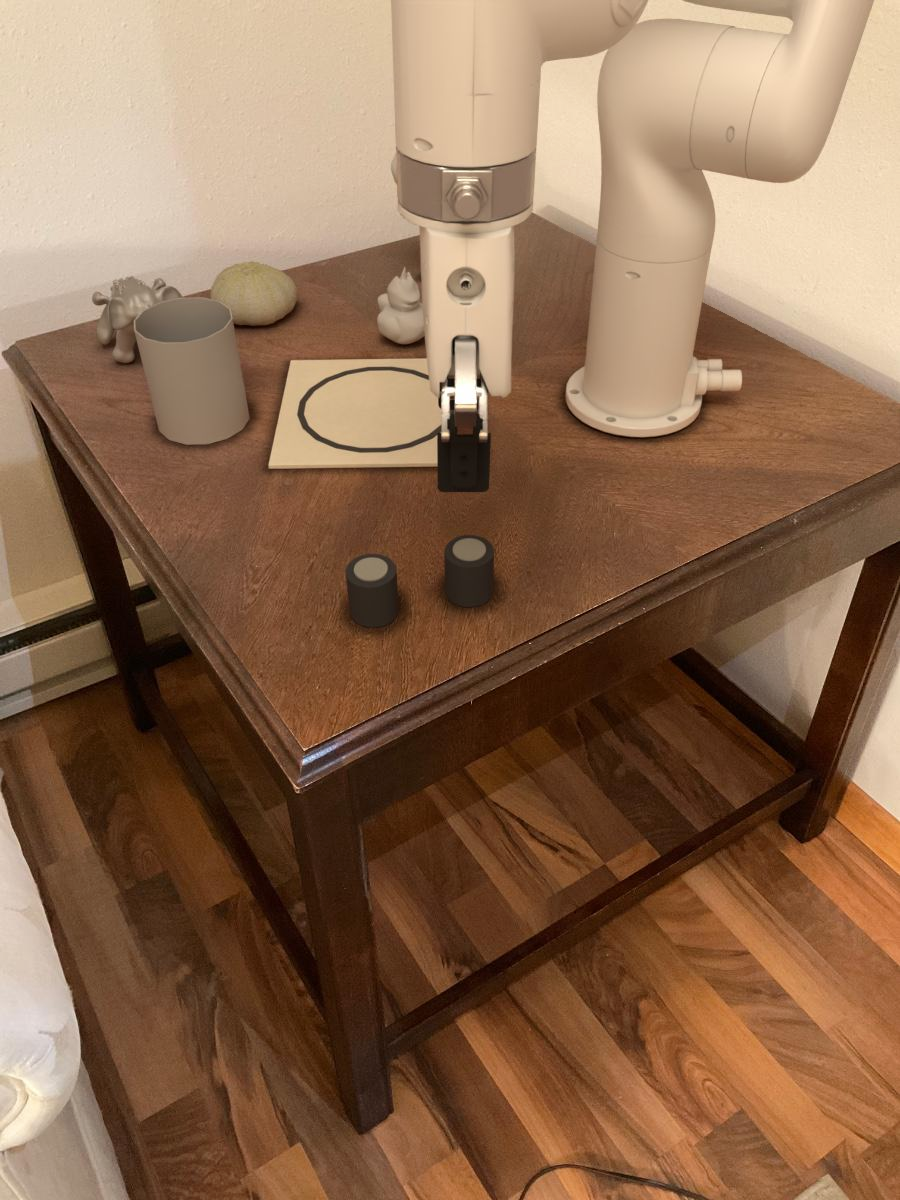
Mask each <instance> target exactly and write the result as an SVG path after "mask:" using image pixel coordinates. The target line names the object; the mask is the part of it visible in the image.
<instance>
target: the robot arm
mask: <svg viewBox="0 0 900 1200" xmlns="http://www.w3.org/2000/svg"><path fill="white" fill-rule="evenodd" d="M682 1H683V2H686V3H689V4H694V5H697V6H703V7H707V8H708V7H709V8H713V9H714V8H715V9H720V10H729V11H735V12H743V13H750V14H759V15H765V16H774V17H782V18H787V19H789V20H790V21H791V22H792V27H791V30H790V32H789V33H782V32H773V31H766V30H760V29H759V30H758V29H752V28H751V29H749V28H743V27H737V26H735V25H729V24H723V23H714V22H705V21H698V20H690V19H682V18H656V19H655V18H654V19H648V20H647V19H646V20H644V21H640V22H638V21H639V20H640V18H641V16H642V15H643V13H644V11H645V8H646V7H647V4H648V3H649V0H390V10H391V39H392V40H391V43H392V74H393V101H394V133H395V134H394V135H395V137H394V138H395V154H396V170H397V184H396V197H397V211H398V213H399V215H400V216H401V217H402V218H403V219H404V220H406V221H407V222H408V223H411V224H413V225H414V226H417V227H419V226H420V228H419V251H420V250H421V261H420V278H421V281H420V283H421V303H422V305H423V321H424V333H425V336H424V344H425V354H426V358H427V364H428V374H429V382H430V391H431V392H432V393H433V394H434V395H435V396H436V397H438V406H439V408H440V409H441V433H437V489H438V491H439V492H441V493H485V492H488V490H489V489H490V478H491V477H490V472H491V447H492V446H491V445H492V434H491V432H489V427H488V426H489V419H488V417H489V414H488V413H489V412H488V411H489V406H488V404H489V403H488V402H489V400H488V398H489V394H490V396H491V397H500V399H505V398H507V397H508V396H509V394H511V392H512V363H513V361H512V358H513V357H512V356H513V333H514V332H513V331H514V330H513V329H514V328H513V327H514V307H515V306H514V305H515V304H514V301H515V272H516V271H515V270H516V269H515V267H516V266H515V265H516V264H515V263H516V261H515V258H516V257H515V256H516V255H515V254H516V252H515V251H516V249H515V248H516V247H515V244H516V243H515V226H518V225H519V224H521V223H524V222H525V221H526V220H528V218H529V217H531V216H532V214H533V210H534V196H535V179H536V178H535V177H536V162H537V147H538V146H537V145H538V129H539V114H540V113H539V112H540V96H541V95H540V94H541V80H542V79H541V76H542V75H541V73H542V67H543V65H544V64H545V63H546V62H553V61H558V60H569V59H579V58H580V59H581V58H586V57H591V56H596V55H598V54H601V53H603V52H605V51H606V52H605V54H604V57H603V60H602V63H601V66H600V69H599V74H598V81H597V93H596V104H597V120H598V131H599V142H600V143H599V144H600V166H601V167H600V169H601V176H600V198H599V212H598V222H597V234H596V243H595V253H594V254H595V255H594V264H593V276H592V286H591V295H590V306H589V317H588V318H589V319H588V327H587V328H588V329H587V337H586V338H587V339H586V340H587V341H586V349H585V359H584V360H585V361H584V366H582V367H580V368H578V370H576V371H575V372H574V373H572V375H571V376H570V377H569V379H568V381H567V382H566V387H565V394H564V395H565V403H566V406H567V407H568V409H569V411H570V412H571V413H572V415H574V416H575V417H576V418H577V419H578V420H580V421H581V422H582V423H584V424H586V425H587V426H589V427H590V428H591V427H592V428H593V429H595V430H599V431H600V432H603V433H608V434H611V435H615V436H621V437H629V438H651V437H652V438H654V437H660V436H666V435H669V434H672V433H676V432H678V431H680V430H682V429H684V428H687V427H688V426H689V425H691V424H692V423H693V422H694V421H695V420H696V419H697V417H698V416H699V414H700V411H701V407H702V404H703V396H704V395H706V393H707V391H708V392H709V391H711V392H712V391H719V392H740V391H741V389H742V385H743V373H742V370H741V369H723V360H722V359H721V358H709V359H698V358H697V357H696V356H694V351H695V345H696V338H697V334H698V333H697V332H698V328H699V321H700V315H701V309H702V305H703V300H704V299H703V298H704V294H705V288H706V282H707V277H708V271H709V266H710V265H709V264H710V259H711V254H712V248H713V243H714V239H715V238H714V237H715V232H716V209H715V208H716V207H715V202H714V198H713V195H712V191H711V189H710V186H709V184H708V181H707V179H706V176H705V173H704V172H703V171H705V172H706V171H707V172H711V173H717V174H721V175H726V176H733V177H737V178H741V179H746V180H752V181H753V180H754V181H759V182H763V183H764V182H765V183H773V184H787V183H792V182H795V181H797V180H799V179H801V178H802V177H804V176H805V175H806V174H807V173H808V172H809V171H810V170H811V169H812V168H813V167H814V165H815V164H816V162H817V161H818V159H819V157H820V155H821V153H822V151H823V150H824V147H825V144H826V142H827V141H828V139H829V135H830V133H831V130H832V127H833V124H834V121H835V118H836V116H837V113H838V110H839V107H840V104H841V101H842V98H843V95H844V92H845V89H846V86H847V82H848V80H849V77H850V74H851V70H852V68H853V65H854V61H855V59H856V56H857V53H858V50H859V47H860V44H861V41H862V38H863V36H864V32H865V29H866V26H867V23H868V20H869V17H870V14H871V12H872V9H873V5H874V2H875V0H682ZM450 410H455V413H451V416H450Z"/></svg>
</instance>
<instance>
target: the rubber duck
mask: <svg viewBox="0 0 900 1200" xmlns="http://www.w3.org/2000/svg"><path fill="white" fill-rule="evenodd" d="M420 298H421V293H420V289H419V285H418V283H417V282H416V281H415V279H414V278H413V275H412V274H411V272H410V271H407V269H406V266H404V267H403V269H402V272H401V275H400V277H399V276H398V275H395V276H394V277H393V279H391V281H390V282H389V284H388V285H387V287H386V292H385V293H383V294H380V295H379V296H378V297H377V299H376V300H377V306H378V308H379V314H378V315H377V318H376V324H377V330H378V332H379V333H380V334H381V336H384V337H385V338H387V339H388V340H390V341H392V342H394V343H396V344H399V345H410V344H413V343H415V342H418V341H419V340H421V339H422V338H425V333H424V321H423V305H422V301H421V299H420Z"/></svg>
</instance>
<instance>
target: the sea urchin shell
mask: <svg viewBox="0 0 900 1200" xmlns="http://www.w3.org/2000/svg"><path fill="white" fill-rule="evenodd" d="M296 285H297V284H295V282H294V281H293V279H292V278H291V277H290V276H289V275H288V274H286V273H285V272H284V271H282V270H281V269H278V268H276V267H274V266H271V265H268V264H267V263H266V264H265V263H261V262H259V261H252V260H251V261H243V262H241V263H236V264H235V263H234V264H233V265H230V266H229V267H226V268H223V270H221V271H220V272H219V273H218V274H217V275H216V277H215V280H214V282H213V284H212V285H211V287H210V290H209V291H210V299H212V300H216V301H220V302H222V303H223V304H224V305H226V306H227V307H229V308H230V309H231V313H232V318H233V324H234V325H238V326H251V327H254V326H267V325H271V324H275V323H276V322H278V321H279V320H281V319H283V318H285V316H286V315H288V314H289V313H291V312H292V310H294V308H295V305H296V304H297V301H298V290H297V286H296Z"/></svg>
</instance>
